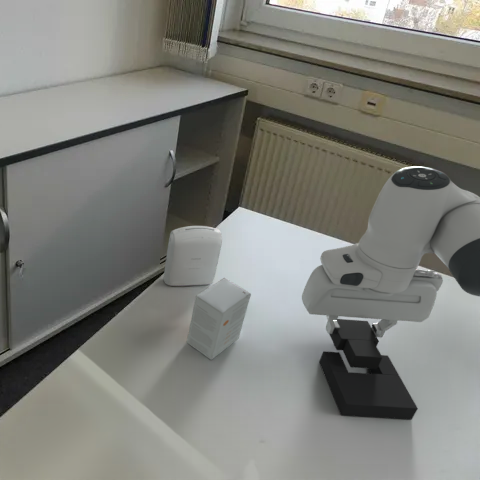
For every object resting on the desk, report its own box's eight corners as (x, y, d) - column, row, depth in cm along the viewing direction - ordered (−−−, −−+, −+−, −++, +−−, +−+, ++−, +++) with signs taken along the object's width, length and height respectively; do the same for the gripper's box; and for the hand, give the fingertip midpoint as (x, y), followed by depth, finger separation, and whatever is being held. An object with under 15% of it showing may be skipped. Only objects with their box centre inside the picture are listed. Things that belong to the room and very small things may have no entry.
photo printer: (165, 288, 104) (174, 234, 98) (160, 274, 108) (168, 221, 101) (215, 286, 106) (228, 233, 99) (209, 273, 110) (221, 221, 103)
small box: (213, 322, 97) (224, 276, 91) (239, 339, 94) (252, 292, 88) (185, 342, 92) (195, 294, 86) (211, 361, 89) (223, 312, 83)
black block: (326, 329, 94) (331, 318, 93) (362, 332, 94) (367, 320, 93) (344, 367, 87) (349, 355, 85) (382, 369, 87) (388, 358, 86)
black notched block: (318, 362, 91) (323, 351, 90) (382, 366, 92) (387, 355, 90) (341, 415, 82) (346, 404, 80) (411, 419, 82) (418, 408, 81)
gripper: (437, 260, 87) (404, 324, 94) (312, 250, 86) (289, 316, 93) (457, 284, 81) (421, 350, 89) (324, 274, 81) (299, 342, 88)
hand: (353, 333), depth 91 cm, fingers closed on black block, 6 cm apart
